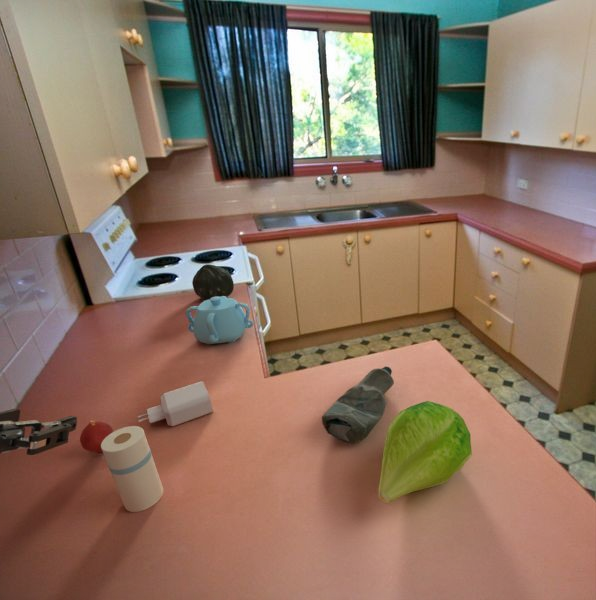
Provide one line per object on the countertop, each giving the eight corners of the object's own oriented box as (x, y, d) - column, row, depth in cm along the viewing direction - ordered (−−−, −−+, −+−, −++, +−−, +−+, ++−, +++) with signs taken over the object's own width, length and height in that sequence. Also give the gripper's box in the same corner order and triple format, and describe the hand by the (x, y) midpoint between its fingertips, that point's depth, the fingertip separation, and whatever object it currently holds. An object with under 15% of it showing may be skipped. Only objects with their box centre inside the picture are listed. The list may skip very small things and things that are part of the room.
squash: (230, 273, 176) (200, 253, 165) (246, 283, 166) (216, 262, 155) (209, 301, 174) (177, 282, 163) (224, 313, 164) (191, 294, 153)
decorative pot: (208, 355, 126) (198, 314, 121) (187, 337, 136) (177, 299, 131) (258, 336, 137) (252, 297, 131) (235, 320, 147) (228, 284, 141)
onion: (84, 450, 90) (71, 420, 87) (114, 437, 94) (103, 407, 91) (89, 465, 87) (76, 434, 83) (121, 450, 90) (110, 420, 87)
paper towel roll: (115, 509, 77) (90, 449, 71) (142, 481, 82) (121, 423, 77) (146, 515, 75) (124, 453, 70) (171, 486, 81) (152, 427, 76)
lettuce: (430, 550, 70) (366, 510, 80) (494, 450, 84) (432, 426, 94) (406, 494, 63) (339, 457, 73) (480, 395, 77) (415, 375, 87)
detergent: (364, 454, 87) (414, 386, 107) (359, 425, 84) (411, 362, 105) (313, 439, 93) (369, 378, 113) (306, 413, 90) (365, 355, 111)
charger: (138, 417, 100) (206, 394, 108) (142, 439, 93) (214, 413, 101) (133, 400, 98) (202, 379, 106) (136, 422, 91) (210, 397, 99)
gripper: (-137, 479, 48) (-6, 437, 65) (-10, 494, 49) (89, 449, 65) (-126, 413, 49) (2, 388, 65) (1, 429, 49) (96, 400, 65)
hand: (45, 419), depth 65 cm, fingers open, 8 cm apart
